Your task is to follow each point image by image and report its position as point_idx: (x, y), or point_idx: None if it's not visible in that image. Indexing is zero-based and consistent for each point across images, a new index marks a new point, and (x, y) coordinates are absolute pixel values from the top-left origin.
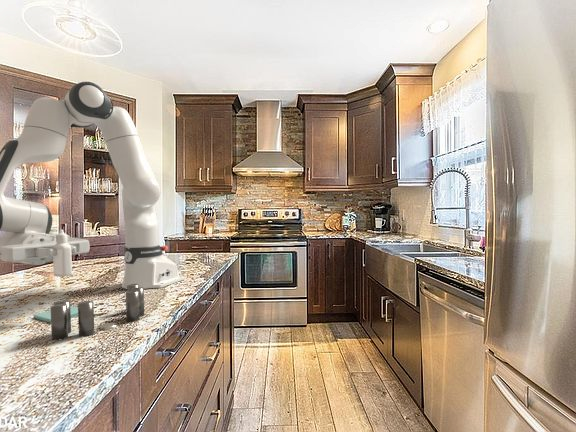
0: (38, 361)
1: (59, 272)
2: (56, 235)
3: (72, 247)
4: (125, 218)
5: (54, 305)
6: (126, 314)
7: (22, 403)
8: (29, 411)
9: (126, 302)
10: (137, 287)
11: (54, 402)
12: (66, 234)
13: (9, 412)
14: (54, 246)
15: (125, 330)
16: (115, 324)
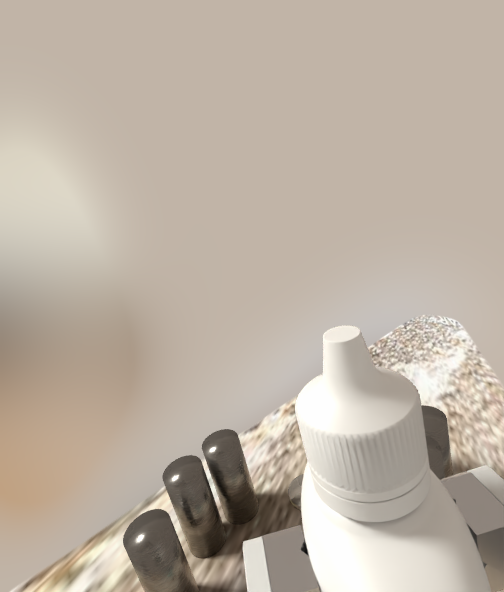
0: (459, 405)
1: None
2: (412, 383)
3: (278, 532)
4: None
5: (436, 425)
6: (253, 494)
7: (451, 335)
8: (441, 327)
9: (244, 462)
10: (171, 482)
11: (420, 330)
12: (305, 386)
13: (460, 329)
14: (455, 504)
15: (291, 452)
16: (294, 485)
